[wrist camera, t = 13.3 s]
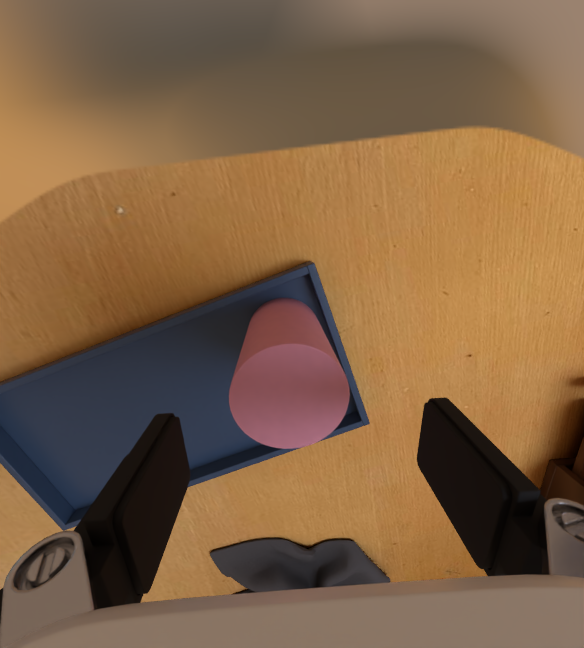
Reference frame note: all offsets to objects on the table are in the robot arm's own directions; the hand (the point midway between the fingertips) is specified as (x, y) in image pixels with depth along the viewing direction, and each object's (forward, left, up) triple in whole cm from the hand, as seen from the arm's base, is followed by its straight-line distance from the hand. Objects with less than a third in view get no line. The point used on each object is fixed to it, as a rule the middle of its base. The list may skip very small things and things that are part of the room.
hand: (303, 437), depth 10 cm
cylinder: (0, 0, -13) cm, 13 cm away
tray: (+7, -10, -14) cm, 18 cm away
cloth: (+34, -1, -14) cm, 37 cm away
